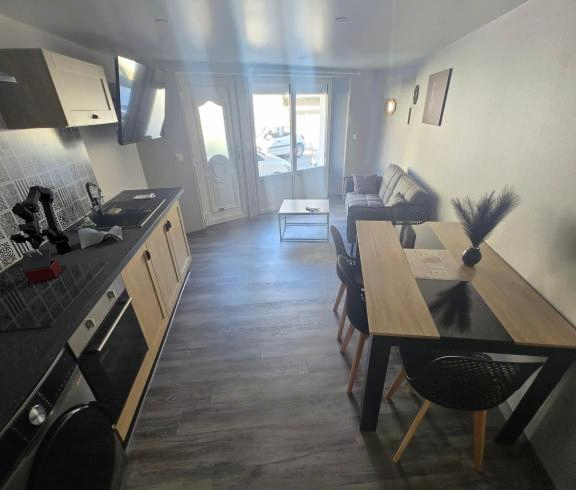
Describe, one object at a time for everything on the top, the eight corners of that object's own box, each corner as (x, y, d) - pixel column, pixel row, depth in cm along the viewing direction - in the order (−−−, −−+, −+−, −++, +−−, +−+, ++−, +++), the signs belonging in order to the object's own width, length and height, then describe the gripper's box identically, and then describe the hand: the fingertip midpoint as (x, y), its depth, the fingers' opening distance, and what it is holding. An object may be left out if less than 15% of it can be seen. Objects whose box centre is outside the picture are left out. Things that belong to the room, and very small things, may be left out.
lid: (24, 254, 156) (16, 248, 151) (50, 249, 159) (44, 243, 154) (23, 271, 152) (15, 266, 147) (50, 267, 154) (43, 261, 150)
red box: (37, 274, 164) (31, 263, 160) (62, 269, 166) (56, 259, 163) (30, 282, 155) (23, 272, 152) (56, 277, 158) (50, 267, 154)
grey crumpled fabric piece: (126, 232, 210) (121, 219, 205) (123, 242, 195) (117, 227, 190) (87, 239, 204) (81, 225, 199) (81, 249, 189) (74, 235, 184)
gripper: (0, 219, 149) (4, 248, 146) (42, 213, 153) (46, 241, 151) (16, 229, 160) (19, 256, 157) (55, 223, 164) (59, 249, 161)
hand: (36, 250), depth 156 cm, fingers closed
